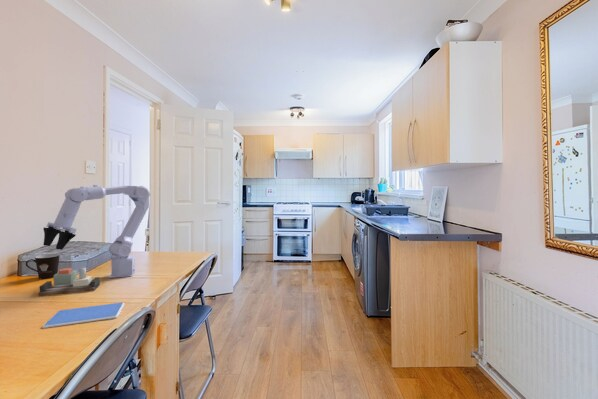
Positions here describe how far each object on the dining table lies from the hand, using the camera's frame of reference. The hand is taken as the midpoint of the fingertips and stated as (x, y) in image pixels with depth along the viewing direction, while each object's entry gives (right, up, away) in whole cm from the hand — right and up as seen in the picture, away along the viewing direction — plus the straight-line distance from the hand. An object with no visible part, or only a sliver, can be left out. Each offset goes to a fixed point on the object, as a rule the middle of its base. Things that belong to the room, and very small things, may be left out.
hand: (52, 247), depth 114 cm
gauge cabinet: (-1, -17, +7) cm, 19 cm away
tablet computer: (+30, -19, -21) cm, 42 cm away
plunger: (-1, -15, +7) cm, 17 cm away
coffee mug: (-18, -17, +17) cm, 30 cm away
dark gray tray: (+7, -17, +1) cm, 19 cm away
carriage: (+11, -15, +2) cm, 19 cm away
